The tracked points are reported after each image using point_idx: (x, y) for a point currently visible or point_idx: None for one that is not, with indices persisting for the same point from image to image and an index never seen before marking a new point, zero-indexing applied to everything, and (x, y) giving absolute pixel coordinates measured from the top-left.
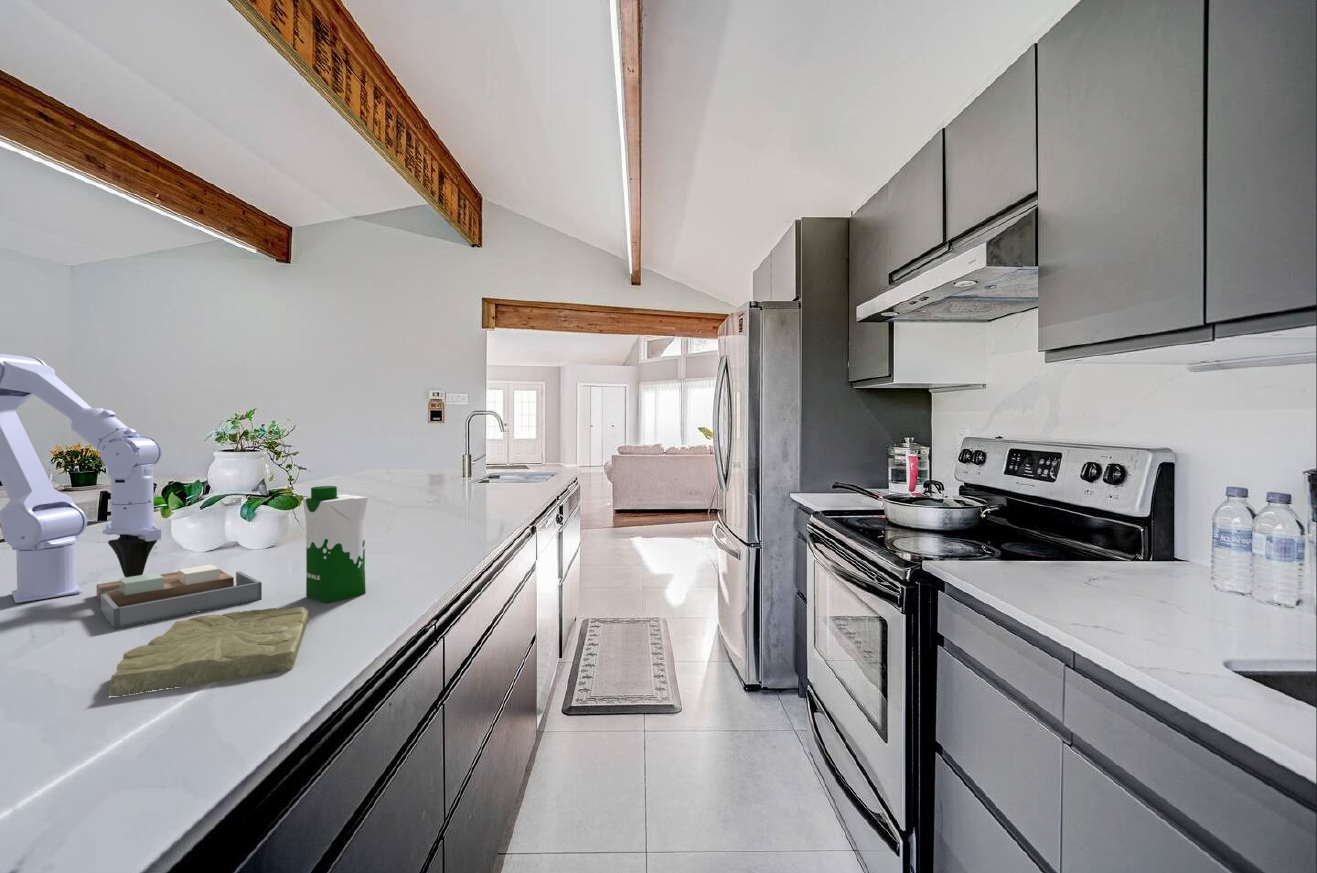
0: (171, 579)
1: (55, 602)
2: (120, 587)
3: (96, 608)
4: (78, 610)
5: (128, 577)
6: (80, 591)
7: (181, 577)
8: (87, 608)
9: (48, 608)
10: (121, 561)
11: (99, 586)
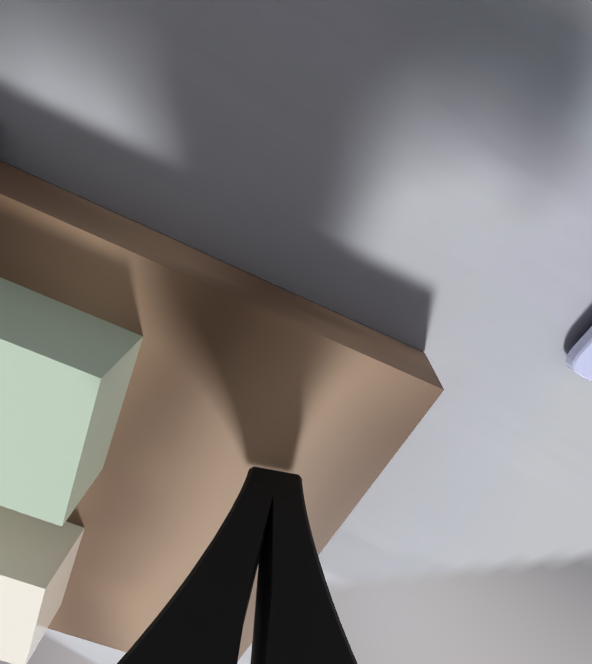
0: (133, 530)
1: (542, 194)
2: (98, 332)
3: (131, 174)
4: (185, 107)
5: (77, 413)
6: (570, 363)
7: (2, 530)
8: (183, 157)
9: (441, 76)
10: (277, 578)
11: (368, 361)
